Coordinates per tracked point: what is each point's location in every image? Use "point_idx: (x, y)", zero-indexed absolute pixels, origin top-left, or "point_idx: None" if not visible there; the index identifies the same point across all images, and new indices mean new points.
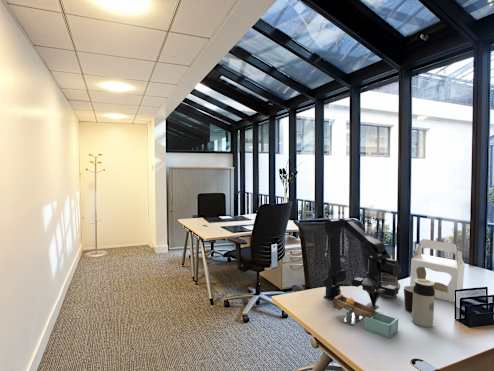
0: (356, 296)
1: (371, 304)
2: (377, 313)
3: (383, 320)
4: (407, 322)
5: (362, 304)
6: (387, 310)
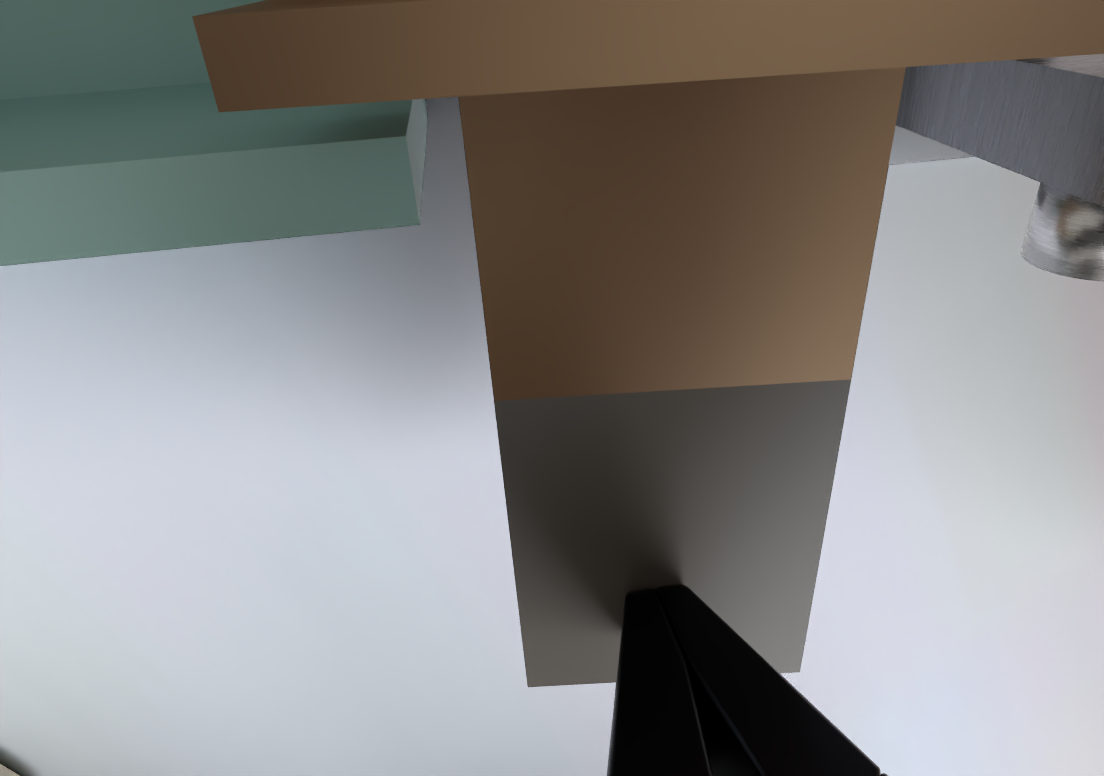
0: (1070, 771)
1: (723, 596)
2: (194, 151)
3: (7, 124)
4: (13, 677)
5: (1026, 34)
6: (519, 761)
